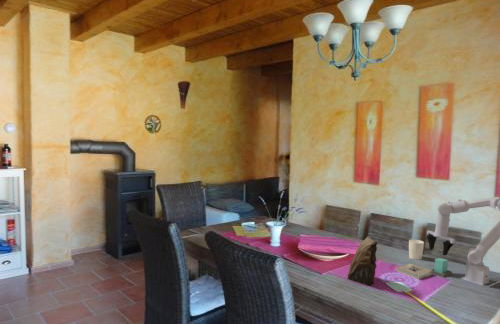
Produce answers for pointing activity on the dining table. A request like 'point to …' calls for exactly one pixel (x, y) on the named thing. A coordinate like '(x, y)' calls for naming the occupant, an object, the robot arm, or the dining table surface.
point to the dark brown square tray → (442, 274)
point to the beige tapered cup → (415, 249)
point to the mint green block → (441, 265)
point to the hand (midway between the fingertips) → (437, 252)
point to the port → (409, 267)
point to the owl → (364, 263)
